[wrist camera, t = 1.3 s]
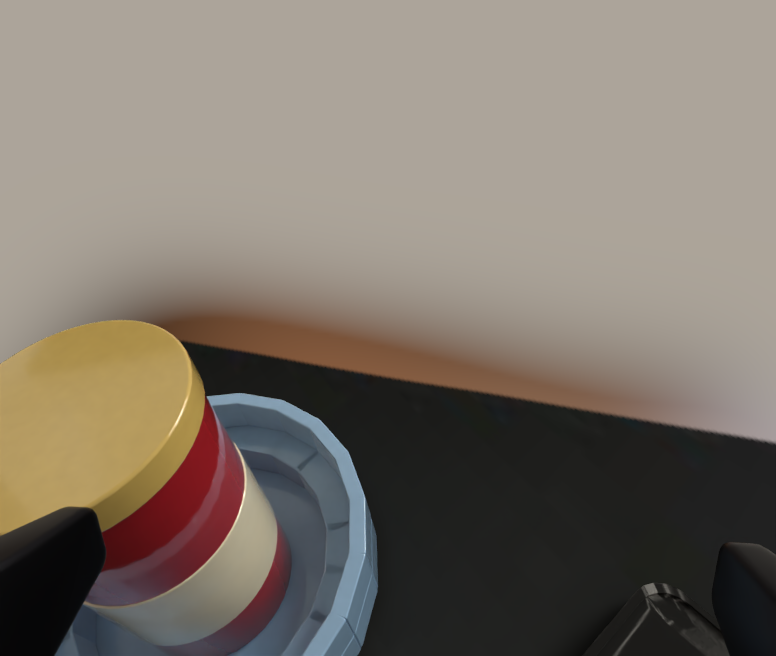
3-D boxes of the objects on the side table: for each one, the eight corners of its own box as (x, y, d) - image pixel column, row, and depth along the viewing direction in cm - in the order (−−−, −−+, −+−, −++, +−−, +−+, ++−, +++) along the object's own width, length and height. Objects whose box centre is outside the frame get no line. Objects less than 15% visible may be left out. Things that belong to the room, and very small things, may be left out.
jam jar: (213, 708, 18) (6, 599, 10) (104, 603, 21) (-126, 450, 13) (327, 548, 22) (243, 368, 14) (220, 476, 25) (97, 293, 17)
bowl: (213, 905, 15) (156, 920, 13) (-8, 636, 21) (-81, 604, 18) (438, 525, 23) (434, 479, 20) (225, 403, 28) (198, 354, 26)
